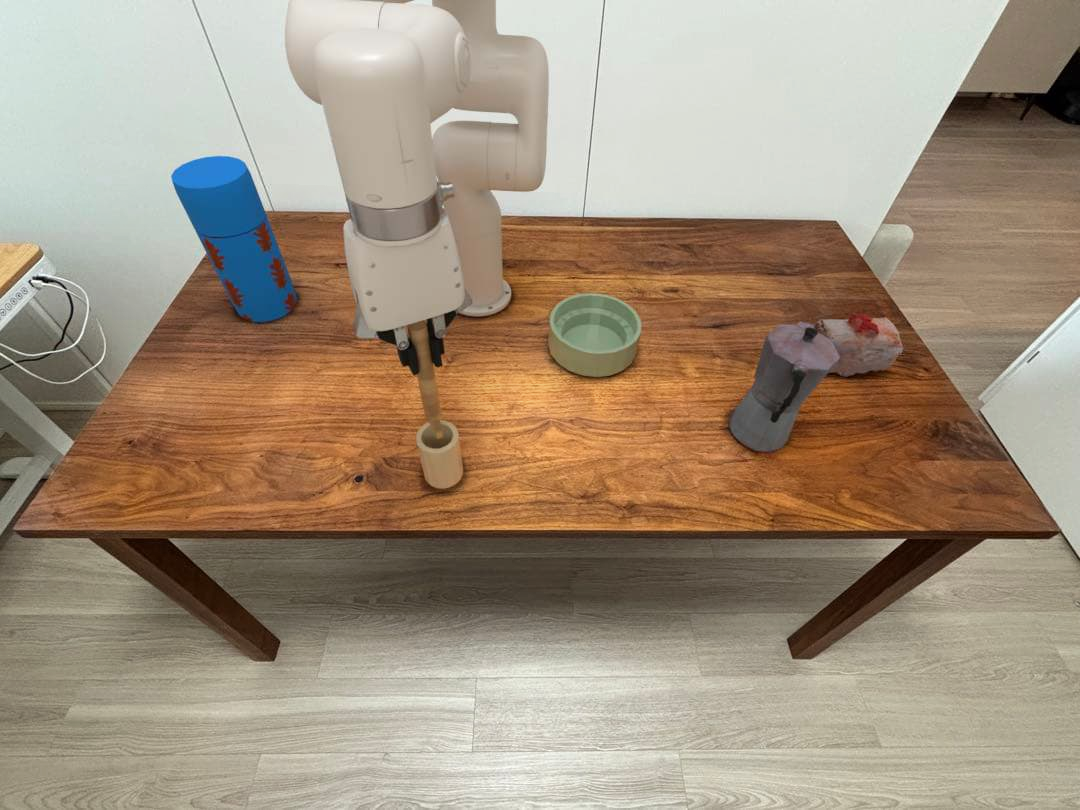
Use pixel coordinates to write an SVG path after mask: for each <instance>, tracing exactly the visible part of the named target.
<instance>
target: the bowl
mask: <svg viewBox="0 0 1080 810" xmlns="http://www.w3.org/2000/svg"><path fill="white" fill-rule="evenodd" d="M641 335H642V320H641V318H640V315H639V314H638V312H637V311H636V310H635V309H634V308H633V307H632V306H631V305H630V304H629V303H627V302H625V301H623V300H622V299H620V298H618V297H614V296H611V295H608V294H604V293H595V292H589V293H587V292H585V293H578V294H574V295H571V296H568V297H566V298H564V299H562V300H561V301H559V302H558V303H557V304H556V305H555V306H554V308H553V309H552V310H551V312H550V317H549V321H548V339H547V346H548V350H549V353H550V355H551V357H552V358H553V359H554V361H555V362H556V363H557V364H558V365H560V366H561V367H562V368H564V369H565V370H567V371H569V372H572V373H574V374H576V375H580V376H584V377H592V378H600V377H601V378H602V377H609V376H613V375H616V374H618V373H621V372H623V371H624V370H626V369H627V368H628V367H629V366H631V364H632V363H633V362H634V360H635V358H636V356H637V352H638V348H639V343H640V339H641Z"/></svg>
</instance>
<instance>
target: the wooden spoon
mask: <svg viewBox="0 0 1080 810" xmlns="http://www.w3.org/2000/svg"><path fill="white" fill-rule="evenodd" d="M406 329H407V334H408V336H409V338H410V341H411V342H412V344H413V345H414V347H415V351H416V356H417V361H418V366H419V371H420V372H419V373H418V374H417V375H416V377H417V383H418V388H419V394H420V399H421V403H422V408H423V413H424V418H425V420H427V421H428V422H429V424H430V426H431V428H432V430H433V432H434V434H435V436H436V438H437V439H440V438H442V437H443V434H442V428H441V422H440V420H441V418H442V416H443V415H442V408H441V402H440V395H439V390H438V385H437V378H436V372H435V365H434V363H433V359H432V353H431V347H430V341H429V334H428V328H427V321H426V319H425V320H422V321H419V322H415V323H412V324H409V325H406Z"/></svg>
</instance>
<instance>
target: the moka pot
mask: <svg viewBox="0 0 1080 810" xmlns="http://www.w3.org/2000/svg"><path fill="white" fill-rule="evenodd" d="M814 326H815V325H813V324H811V323H808V322H804V321H801V320H800V321H798V322H797V324H779V325H777V326H776V327H775V328H774V329H773V330H771V331H770V332H769V333H768V334H767V335H766V336H765V338H764V342H763V345H762V347H761V348H762V349H761V351H760V355H759V359H758V363H757V364H756V368H755V371H754V375H753V378H754V381H753V384H752V386H751V387H750V388H749V390H748V391H747V392H746V393H745V395H744V397H743V398H742V399H741V400H740V402H739V403H738V404H737V406H736V408H735V409H734V410H733V411H732V413H731V414H730V416H729V417H730V418H729V421H728V422H729V424H728V427H729V429H730V432H731V434H732V435H733V436H734V437H735V439H736V440H738V441H739V442H740V443H741V444H742V445H744V446H746V447H747V448H749V449H751V450H753V451H755V452H763V453H769V452H776V451H778V450H780V449H781V448H783V447H784V446H786V444H787V442H788V440H789V437H790V435H791V432H792V430H793V427H794V425H795V422H796V419H797V417H798V414H799V411H800V409H801V406H802V405H803V403H804V402H805V401H806V400H807V398H808V397H809V396H810V395H812V393H813V392H814V391H815V390H816V388H817V387H818V386H819V385H820V383H821V382H822V381H823V380H824V379H825V377H826V376H827V375H828V374H830V373H829V371H830V370H831V369H832V368H833V367H834V365H835V364H836V363H837V362H838V361H839V359H840V356H839V354H838V352H837V350H836V349H835V347H834V345H833V343H832V341H831V339H829V338H827V337H826V336H824V335H822V334H820V333H818V331H817V330H816V329H815V328H814Z"/></svg>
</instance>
